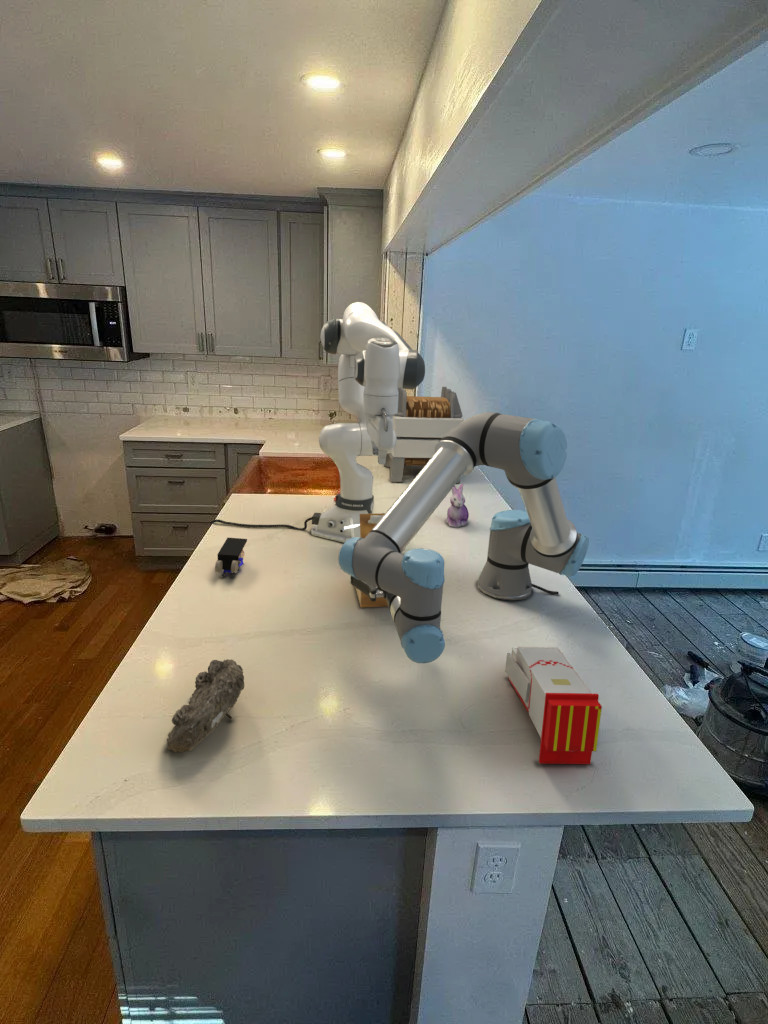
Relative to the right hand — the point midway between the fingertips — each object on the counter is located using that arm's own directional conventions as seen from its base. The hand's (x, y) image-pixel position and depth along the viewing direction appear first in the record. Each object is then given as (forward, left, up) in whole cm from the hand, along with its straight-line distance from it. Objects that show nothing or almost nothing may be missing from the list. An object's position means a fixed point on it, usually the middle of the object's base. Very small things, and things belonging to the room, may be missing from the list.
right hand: (389, 561), depth 134 cm
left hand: (0, -22, +19) cm, 29 cm away
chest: (0, -19, -19) cm, 27 cm away
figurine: (-39, -71, -19) cm, 83 cm away
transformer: (-41, -138, -19) cm, 145 cm away
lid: (0, -16, -2) cm, 16 cm away
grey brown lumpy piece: (+38, +27, -19) cm, 51 cm away
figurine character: (+40, -37, -19) cm, 58 cm away
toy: (-26, +34, -19) cm, 46 cm away
